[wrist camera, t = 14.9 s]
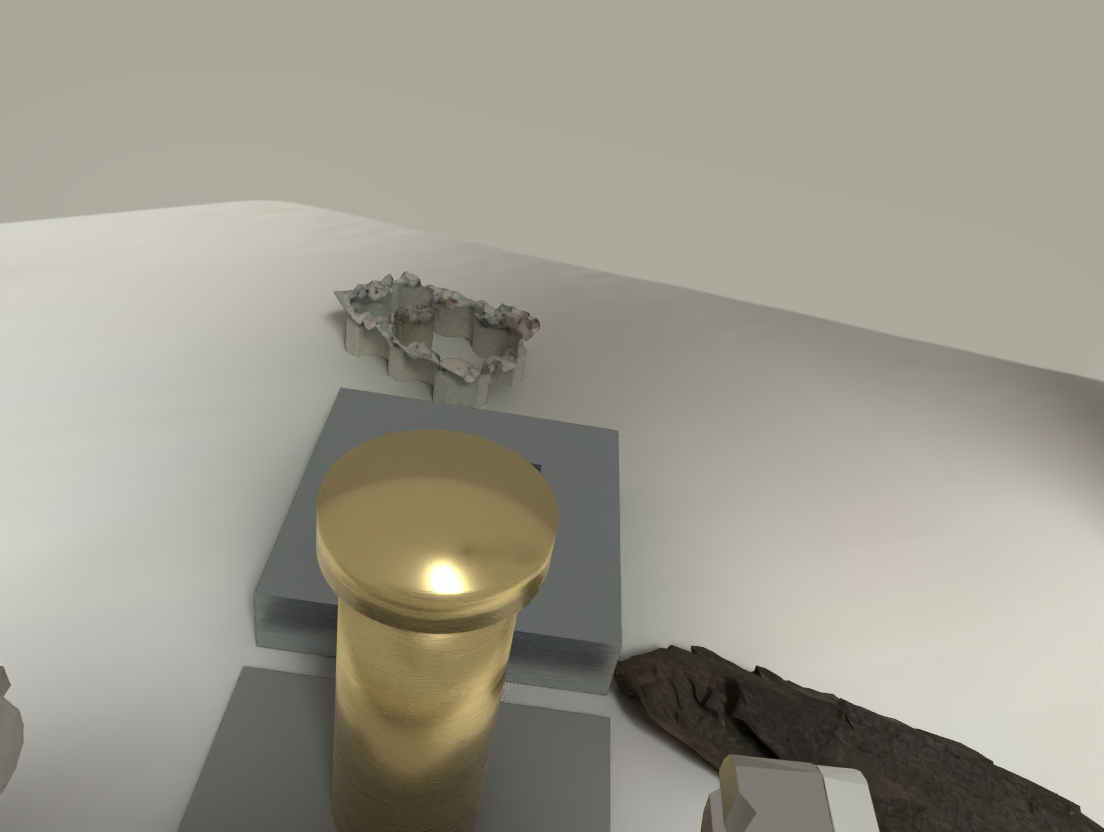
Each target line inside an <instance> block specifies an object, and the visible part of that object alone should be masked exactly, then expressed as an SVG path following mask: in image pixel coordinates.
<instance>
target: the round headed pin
mask: <svg viewBox="0 0 1104 832" xmlns="http://www.w3.org/2000/svg"><path fill="white" fill-rule="evenodd" d="M558 521H559V514H558V506H557V501H556V498H555V496H554V493H553V491H552V489H551V487H550V485H549V484H548V482H547V481H546V479H545V478H544V477H543V476H542V474H541V473H540V472H539V471H538V470H537V469H536V468H535V467H534V466H533V465H532V464H531V463H530V462H528V461H527V460H525V459H524V458H523V457H521V456H520V455H519V454H517V453H515V452H513V451H512V450H510V449H508V448H506V447H504V446H502V445H500V444H498V443H495V442H493V441H490V440H487V439H485V438H481V437H478V436H474V435H471V434H466V433H460V432H455V431H446V430H411V431H403V432H397V433H392V434H388V435H384V436H381V437H378V438H375V439H372V440H369V441H367V442H365V443H363V444H360V445H359V446H357V447H355V448H353V449H352V450H350V451H349V452H347V453H346V454H344V455H343V456H342V457H340V458H339V459H338V460H337V461H336V462H335V463H334V464H333V465H332V466H331V468H330V469H329V471H328V472H327V473H326V475H325V476H324V478H323V480H322V482H321V484H320V488H319V492H318V496H317V529H316V551H317V559H318V563H319V566H320V569H321V572H322V574H323V576H324V578H325V579H326V581H327V583H328V584H329V586H330V587H331V588H332V589H333V591H334V592H335V593H336V594H337V595H338V624H337V655H336V686H335V717H334V748H333V779H332V817H333V821H334V824H335V827H336V830H337V832H472V831H473V829H474V827H475V825H476V822H477V819H478V814H479V809H480V804H481V799H482V794H483V789H484V783H485V778H486V773H487V768H488V763H489V757H490V752H491V747H492V742H493V737H494V731H495V726H496V721H497V716H498V711H499V705H500V700H501V695H502V690H503V685H504V679H505V674H506V669H507V664H508V659H509V653H510V648H511V643H512V638H513V633H514V628H515V622H516V617H517V612H518V611H520V610H521V609H523V608H524V607H525V606H526V605H527V604H528V603H529V602H531V600H532V599H533V598H534V597H535V596H536V594H537V593H538V592H539V590H540V589H541V587H542V585H543V584H544V582H545V579H546V576H547V573H548V570H549V565H550V561H551V556H552V551H553V547H554V542H555V537H556V533H557V527H558Z"/></svg>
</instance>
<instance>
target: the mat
mask: <svg viewBox="0 0 1104 832" xmlns="http://www.w3.org/2000/svg"><path fill="white" fill-rule="evenodd" d="M335 686H336V679H330V678H323V677H315V676H308V675H301V674H294V673H287V672H280V671H272V670H265V669H258V668H251V667H244V668H243V670H242V673H241V675H240V678H239V680H238V683H237V685H236V688H235V690H234V693H233V695H232V698H231V700H230V703H229V706H228V708H227V711H226V713H225V716H224V718H223V721H222V723H221V726H220V728H219V731H218V733H217V736H216V738H215V741H214V743H213V746H212V748H211V751H210V753H209V756H208V758H207V761H206V763H205V766H204V768H203V771H202V773H201V776H200V778H199V781H198V784H197V786H196V789H195V791H194V794H193V796H192V799H191V801H190V804H189V806H188V809H187V811H186V814H185V816H184V819H183V821H182V824H181V826H180V829H179V831H178V832H337V830H336V827H335V824H334V821H333V817H332V779H333V748H334V717H335ZM472 832H610V718H609V717H602V716H595V715H588V714H580V713H573V712H566V711H559V710H552V709H545V708H537V707H530V706H523V705H516V704H509V703H502V702H500V705H499V711H498V716H497V721H496V726H495V731H494V737H493V742H492V747H491V752H490V757H489V763H488V768H487V773H486V778H485V783H484V789H483V794H482V799H481V804H480V809H479V814H478V819H477V822H476V825H475V827H474V829H473V831H472Z"/></svg>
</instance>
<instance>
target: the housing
mask: <svg viewBox="0 0 1104 832" xmlns="http://www.w3.org/2000/svg"><path fill="white" fill-rule="evenodd" d="M411 430H446V431H455V432H460V433H466V434H471V435H474V436H478V437H481V438H485V439H487V440H490V441H493V442H495V443H498V444H500V445H502V446H504V447H506V448H508V449H510V450H512V451H513V452H515V453H517V454H519V455H520V456H521V457H523V458H524V459H525V460H527V461H528V462H530V463H531V464H532V465H533V466H534V467H535V468H536V469H537V470H538V471H539V472H540V473H541V474H542V476H543V477H544V478H545V479H546V481H547V482H548V484H549V485H550V487H551V489H552V491H553V493H554V496H555V498H556V501H557V506H558V514H559V521H558V527H557V533H556V537H555V542H554V547H553V551H552V556H551V561H550V565H549V570H548V573H547V576H546V579H545V582H544V584H543V585H542V587H541V589H540V590H539V592H538V593H537V594H536V596H535V597H534V598H533V599H532V600H531V602H529V603H528V604H527V605H526V606H525V607H524V608H523V609H521V610H520V611H518V612H517V617H516V622H515V628H514V633H513V638H512V643H511V648H510V653H509V659H508V664H507V669H506V674H505V679H504V681H507V682H514V683H521V684H528V685H535V686H543V687H550V688H557V689H564V690H571V691H578V692H585V693H592V694H599V695H606V696H607V694H608V690H609V687H610V684H611V680H612V677H613V674H614V670H615V667H616V664H617V660H618V657H619V653H620V650H621V647H622V631H621V572H620V512H619V453H618V431H617V430H611V429H604V428H598V427H591V426H585V425H578V424H572V423H566V422H559V421H553V420H546V419H540V418H533V417H527V416H521V415H514V414H508V413H501V412H495V411H488V410H482V409H476V408H469V407H463V406H456V405H450V404H443V403H437V402H430V401H424V400H418V399H411V398H405V397H398V396H392V395H385V394H379V393H373V392H366V391H360V390H353V389H347V388H340V390H339V393H338V395H337V398H336V400H335V402H334V405H333V407H332V410H331V412H330V414H329V417H328V419H327V421H326V424H325V426H324V429H323V431H322V433H321V436H320V438H319V440H318V443H317V445H316V448H315V450H314V452H313V455H312V457H311V460H310V462H309V464H308V467H307V469H306V471H305V474H304V476H303V479H302V481H301V483H300V486H299V488H298V491H297V493H296V495H295V498H294V500H293V502H292V505H291V507H290V510H289V512H288V514H287V517H286V519H285V522H284V524H283V526H282V529H281V531H280V533H279V536H278V538H277V541H276V543H275V545H274V548H273V550H272V553H271V555H270V557H269V560H268V562H267V564H266V567H265V569H264V572H263V574H262V576H261V579H260V581H259V583H258V586H257V588H256V591H255V593H254V594H255V620H256V646H259V647H266V648H273V649H280V650H287V651H294V652H301V653H308V654H315V655H322V656H330V657H336V655H337V624H338V595H337V594H336V593H335V592H334V591H333V589H332V588H331V587H330V586H329V584H328V583H327V581H326V579H325V578H324V576H323V574H322V572H321V569H320V566H319V563H318V559H317V551H316V529H317V496H318V492H319V488H320V484H321V482H322V480H323V478H324V476H325V475H326V473H327V472H328V471H329V469H330V468H331V466H332V465H333V464H334V463H335V462H336V461H337V460H338V459H339V458H340V457H342V456H343V455H344V454H346V453H347V452H349V451H350V450H352V449H353V448H355V447H357V446H359V445H360V444H363V443H365V442H367V441H369V440H372V439H375V438H378V437H381V436H384V435H388V434H392V433H397V432H403V431H411Z"/></svg>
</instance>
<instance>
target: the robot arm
mask: <svg viewBox="0 0 1104 832" xmlns="http://www.w3.org/2000/svg"><path fill="white" fill-rule="evenodd" d="M10 686H11V684H10V682H9V679H8V677H7V674H6V672H5V669H4V667H3V666H0V795H1V794H2V792H3V791H4V789H5V787H6V785H7V783H8V782H9V780H10V778H11V776H12V774H13V772H14V771H15V768H16V765H17V762H18V758H19V755H20V752H21V748H22V745H23V725H24V724H23V721H22V717H21V714H20V711H19V709H17V708H16V707H15V706H14V705H12V704H11V703H10V702H9V701H7V700H6V699H5V698H4V695H5V694H6V692H7V690H8V689H9V687H10ZM719 780H720V789H718V790H716V791H714V792H712V793H711V794H710V795H709V797H708V800H707V803H706V806H705V809H704V812H703V819H702V826H701V832H879V828H878V824H877V820H876V816H875V812H874V808H873V804H872V800H871V796H870V792H869V788H868V784H867V780H866V779H865V777H864V776H863V775H862V773H861V772H860V771H858V770H856V769H850V768H840V767H831V766H821V765H813V763H807V762H797V761H788V760H778V759H769V758H759V757H750V756H740V755H731V754H730V755H728V756H727V757H726V758H724V760H723V763H722V765H721V767H720V770H719Z"/></svg>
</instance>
